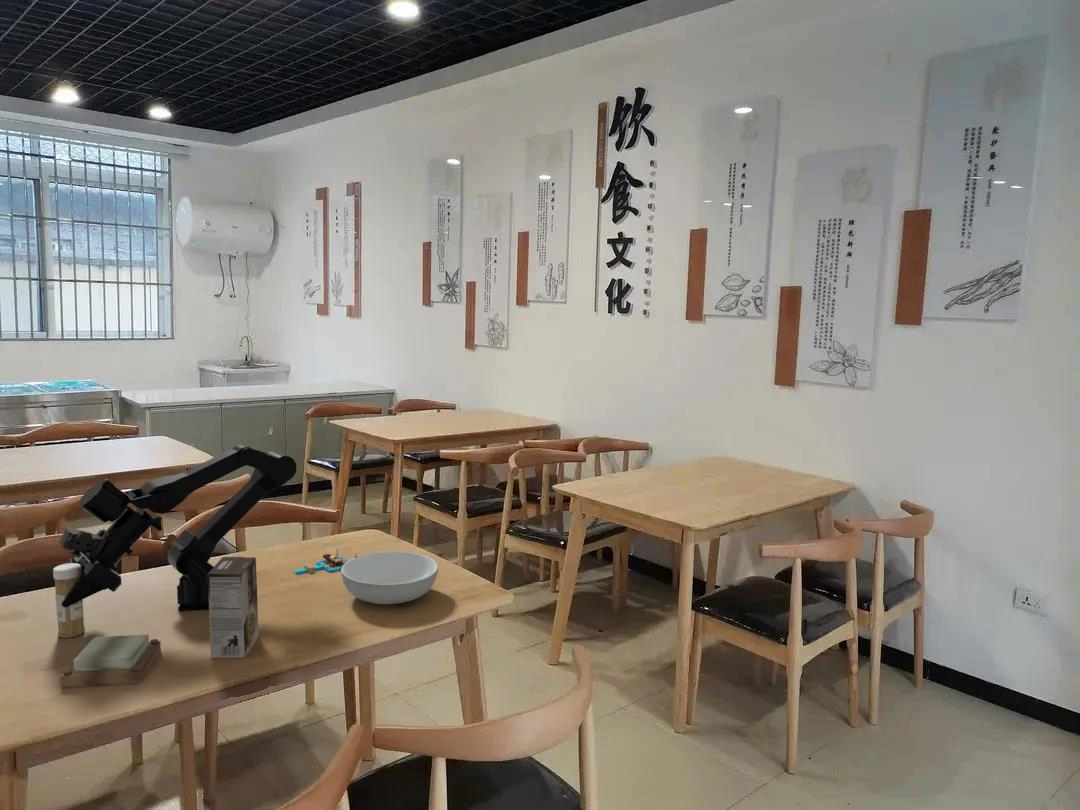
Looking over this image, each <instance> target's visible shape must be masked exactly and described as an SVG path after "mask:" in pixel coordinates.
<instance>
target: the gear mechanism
mask: <svg viewBox="0 0 1080 810" xmlns="http://www.w3.org/2000/svg"><path fill="white" fill-rule="evenodd" d="M335 550H336V556H335V555H331V554H330V553H325V554H323V555H322V558H323V559H322V560H317V561H316V565H317V566H314V565H312V564H311V563H307V564H304V565H303V566H304V568H301V569H296V570H294V572H293V573H294V574H295V575H301V574H305V573H308V574H312V573H315V571H320V570H324V571H326V572H327V573H335V572H339V571H340V572H341V569H342V566H343V565H344V564H345V563H346V562H348V561H350V560H351V559H354V558H356V557H359V556H363V555H364V554H362V553H355V554H354V557H353V558H349V559H347V558H345V557H344V556H339V547H336V549H335Z"/></svg>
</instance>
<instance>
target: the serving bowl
mask: <svg viewBox="0 0 1080 810" xmlns="http://www.w3.org/2000/svg"><path fill="white" fill-rule="evenodd" d="M362 555H363V556H359V557H356V558H355V557H353V558H354V559H353V558H350V559H351V560H350V561H348V562H346V563H345V564H344V565H341V566H342V569H341V570H340V572H341V577H342V578H341V579H342V582H343V584H344V587H345V588H346V590H347V591H348V592H349V593H350V594H351V595H352V596H353V597H355V598H357V599H359V600H361V601H363V602H367V603H371V604H378V605H395V604H402V603H403V604H404V603H406V602H411V601H413V600H416V599H419V598H420V597H423V595H425V594H426V593H427V592H429V591H430V589H432V587H433V586H434V584H435V582H436V580H437V576H438V573H439V564H438V563H437V562H436V561H435V560H434V559H432V558H431V557H429V556H426V555H423V554H420V553H415V552H407V551H380V552H379V551H378V552H373V553H368V554H362Z"/></svg>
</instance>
